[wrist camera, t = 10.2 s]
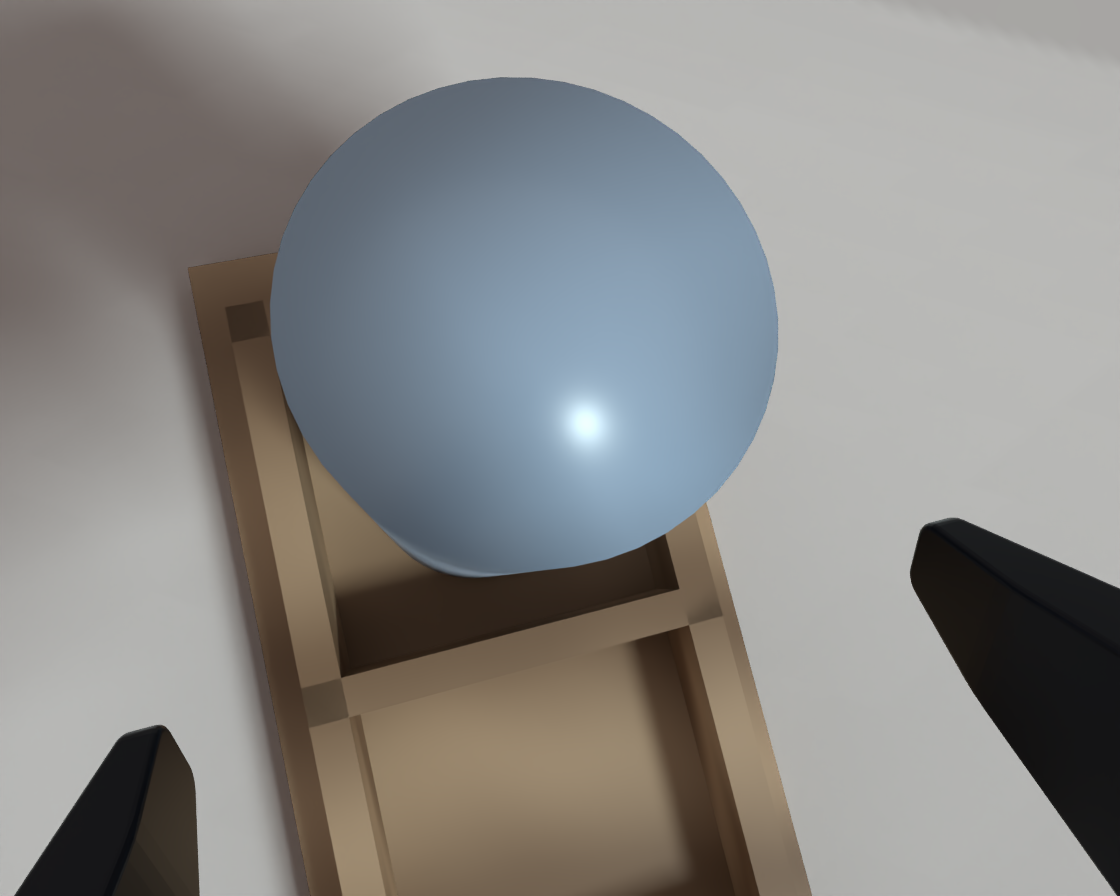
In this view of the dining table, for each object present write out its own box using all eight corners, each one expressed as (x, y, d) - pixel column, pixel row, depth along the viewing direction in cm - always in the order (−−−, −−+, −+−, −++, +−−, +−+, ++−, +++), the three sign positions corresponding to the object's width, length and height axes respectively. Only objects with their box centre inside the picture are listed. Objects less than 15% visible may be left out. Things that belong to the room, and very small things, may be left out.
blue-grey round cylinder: (574, 576, 20) (792, 565, 8) (370, 579, 19) (259, 572, 7) (570, 381, 21) (763, 94, 9) (373, 378, 20) (278, 59, 8)
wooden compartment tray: (829, 1012, 20) (896, 1085, 17) (375, 1182, 18) (364, 1295, 15) (615, 210, 23) (641, 155, 20) (198, 282, 21) (160, 232, 18)
